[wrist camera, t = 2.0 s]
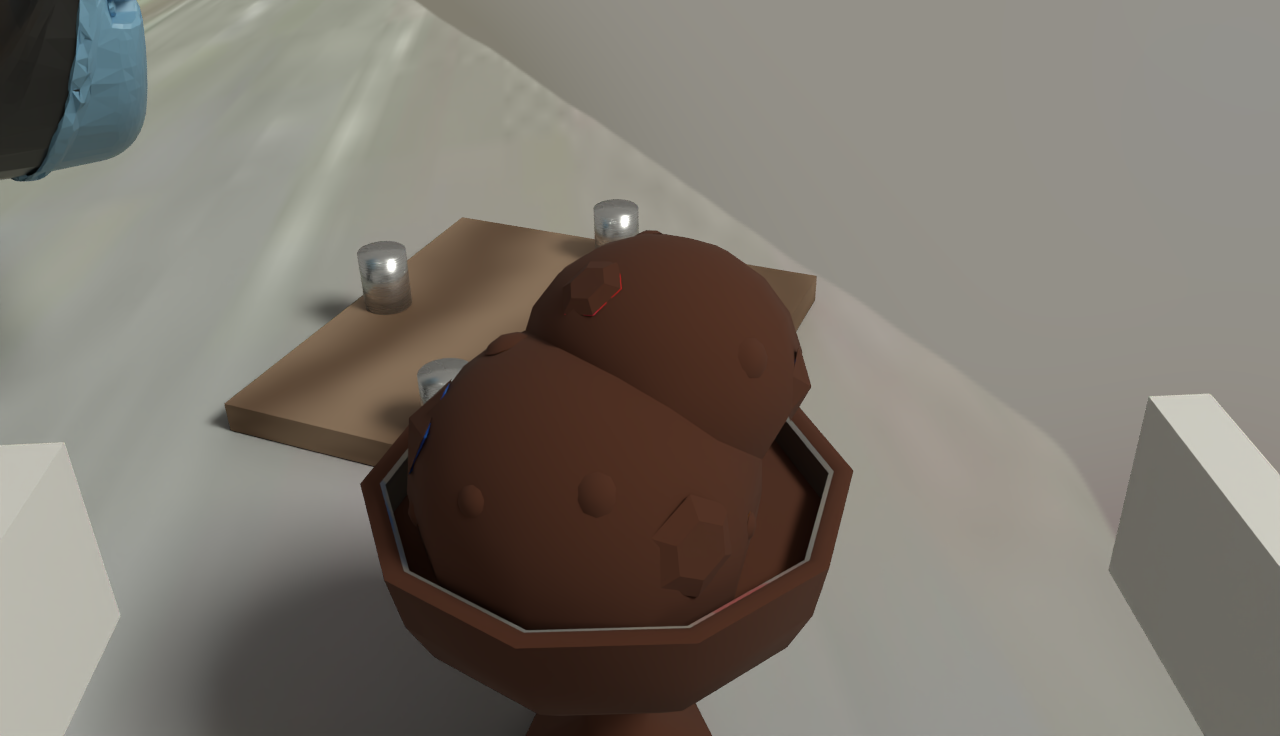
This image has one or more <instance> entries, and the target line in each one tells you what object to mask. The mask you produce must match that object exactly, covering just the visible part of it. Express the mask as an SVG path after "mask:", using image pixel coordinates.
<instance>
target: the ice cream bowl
mask: <svg viewBox="0 0 1280 736" xmlns="http://www.w3.org/2000/svg"><path fill="white" fill-rule="evenodd" d="M451 380H452V379H451ZM451 380H450V381H449V382H447V383H446V384H445V385H444V386H443V387H442V388H441V389H440V390H439V391H438V392H437V393H435V394H434V395H433V396H432V397H431V398H430V399H429V400H428V401H427V402H426V403H425V404H423V405H422V406H421V407H420V408H419V409H418V410H417V411H416V412H415V413H414V414H413V415H411V416H410V417H409V425H408V426H407V427H406V429H405V430H404V431H403V432H402V434H401V435H400V436H399V437H398V438H397V440H396V441H395V442H394V443H393V445H392V446H391V447H390V448H389V449H388V451H387V452H386V453H385V454H384V456H383V457H382V458H381V459H380V460H379V462H378V463H377V464H376V465H375V467H374V468H373V469H372V470H371V471H370V473H369V474H368V475H367V476H366V477H365V479H364V480H363V481H362V482H361V484H360V485H361V489H362V493H363V497H364V501H365V505H366V509H367V513H368V517H369V521H370V525H371V529H372V533H373V537H374V541H375V545H376V549H377V553H378V557H379V561H380V565H381V569H382V573H383V577H384V581H385V583H386V585H387V587H388V590H389V592H390V594H391V596H392V598H393V601H394V603H395V605H396V607H397V610H398V612H399V614H400V616H401V619H402V621H403V623H404V625H405V627H406V628H407V629H408V630H409V631H410V632H411V633H412V634H413V636H414V637H415V638H416V639H417V640H418V641H419V642H420V643H421V644H422V645H423V646H424V647H425V648H426V649H427V650H428V651H429V652H430V653H431V654H432V655H433V656H434V657H435V658H437V659H439V660H440V661H442V662H444V663H446V664H448V665H450V666H451V667H453V668H455V669H457V670H459V671H461V672H462V673H464V674H466V675H468V676H470V677H471V678H473V679H475V680H477V681H479V682H481V683H482V684H484V685H486V686H488V687H490V688H491V689H493V690H495V691H497V692H499V693H501V694H502V695H504V696H506V697H508V698H510V699H511V700H513V701H515V702H517V703H519V704H521V705H522V706H524V707H526V708H528V709H530V710H531V711H533V712H535V713H536V715H535V717H534V719H533V721H532V723H531V726H530V728H529V730H528V732H527V734H526V736H712V735H711V733H710V731H709V729H708V727H707V725H706V723H705V721H704V719H703V717H702V715H701V713H700V711H699V709H698V707H697V705H696V702H698V701H699V700H701V699H703V698H704V697H706V696H708V695H709V694H711V693H713V692H714V691H716V690H717V689H719V688H721V687H722V686H724V685H726V684H727V683H729V682H731V681H732V680H734V679H736V678H737V677H739V676H740V675H742V674H744V673H745V672H747V671H749V670H750V669H752V668H754V667H755V666H757V665H759V664H760V663H762V662H763V661H765V660H767V659H768V658H770V657H772V656H773V655H775V654H777V653H778V652H780V651H782V650H783V649H785V648H786V647H788V645H789V644H790V643H791V642H792V640H793V639H794V638H795V637H796V635H797V634H798V633H799V632H800V630H801V629H802V628H803V627H804V626H805V624H806V623H807V622H808V621H809V619H810V618H811V617H812V616H813V613H814V610H815V607H816V604H817V601H818V598H819V596H820V593H821V590H822V587H823V584H824V581H825V578H826V575H827V573H828V570H829V566H830V562H831V558H832V554H833V550H834V546H835V542H836V538H837V534H838V530H839V526H840V522H841V518H842V514H843V510H844V506H845V502H846V498H847V494H848V490H849V486H850V482H851V478H852V474H853V470H852V469H851V467H850V466H849V465H848V464H847V463H846V462H845V460H844V459H843V458H842V457H841V456H840V454H839V453H838V452H837V451H836V450H835V449H834V447H833V446H832V445H831V444H830V443H829V442H828V440H827V439H826V438H825V437H824V436H823V434H822V433H821V432H820V431H819V430H818V429H817V427H816V426H815V425H814V424H813V423H812V421H811V420H810V419H809V418H808V417H807V416H806V414H805V413H804V412H803V411H802V410H801V409H800V407H799V406H800V404H801V403H802V401H803V400H804V398H805V396H806V395H807V393H808V391H809V390H810V388H811V384H810V380H809V377H808V373H807V370H806V366H805V363H804V359H803V356H802V350H801V346H800V343H799V340H798V337H797V334H796V330H795V327H794V324H793V321H792V317H791V314H790V312H789V310H788V309H787V308H786V306H785V305H784V303H783V302H782V301H781V299H780V298H779V297H778V295H777V294H776V293H775V291H774V290H773V288H772V287H771V286H770V284H769V283H768V282H767V280H766V279H765V278H764V277H763V276H762V275H760V274H759V273H757V272H756V271H755V270H753V269H752V268H750V267H749V266H748V265H746V264H745V263H743V262H742V261H741V260H739V259H738V258H736V257H735V256H734V255H732V254H731V253H729V252H728V251H726V250H724V249H722V248H720V247H718V246H716V245H713V244H709V243H705V242H702V241H698V240H694V239H690V238H685V237H679V236H673V235H667V234H662V233H660V232H658V231H648V230H646V231H643V232H641V233H639V234H637V235H635V236H633V237H629V238H625V239H621V240H617V241H613V242H609V243H607V244H605V245H603V246H600V247H598V248H596V249H595V250H593V251H591V252H590V253H588V254H586V255H584V256H582V257H581V258H579V259H578V260H576V261H574V262H573V263H571V264H569V265H568V266H566V267H564V269H563V270H562V271H561V272H560V273H558V275H557V276H556V277H555V279H554V280H553V281H552V282H551V284H550V285H549V286H548V288H547V289H546V290H545V291H544V293H543V294H542V295H541V297H540V298H539V299H538V300H537V302H536V303H535V304H534V306H533V307H532V310H531V314H530V317H529V320H528V323H527V327H526V330H525V331H523V332H513V333H508V334H503V335H501V336H499V337H498V338H497V339H495V340H494V341H493V342H491V343H490V344H489V345H488V347H487V349H486V350H484V351H483V352H482V353H480V354H479V355H478V356H476V357H475V358H474V359H472V360H471V361H470V362H468V363H467V364H466V365H464V366H463V367H462V369H461V370H460V371H459V373H458V374H457V375H456V377H455V378H454V379H453V381H452V382H451Z"/></svg>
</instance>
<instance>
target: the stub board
mask: <svg viewBox="0 0 1280 736" xmlns="http://www.w3.org/2000/svg"><path fill="white" fill-rule="evenodd" d="M594 231H595V239H590V238H584V237H578V236H572V235H566V234H559V233H553V232H547V231H541V230H535V229H529V228H523V227H517V226H511V225H505V224H499V223H493V222H487V221H481V220H475V219H469V218H463V217H462V218H461V219H460V220H458V221H457V222H456V223H455V224H453V225H452V226H451V227H449V228H448V229H447V230H446V231H444V232H443V233H442V234H441V235H439V236H438V237H437V238H435V239H434V240H433V241H432V242H430V243H429V244H428V245H426V246H425V247H424V248H423V249H421V250H420V251H419V252H418V253H416V254H415V255H414V256H412V257H411V258H410V259H409V260H407V257H406V250H405V247H404V246H403V245H402V244H400V243H397V242H392V241H380V242H374V243H370V244H368V245H365V246H363V247H362V248H360V249H359V250H358V252H357V256H358V263H359V269H360V276H361V282H362V288H363V296H361V297H360V298H359V299H357V300H356V301H355V302H354V303H352V304H351V305H350V306H349V307H347V308H346V309H345V310H343V311H342V312H341V313H340V314H338V315H337V316H336V317H335V318H333V319H332V320H331V321H329V322H328V323H327V324H326V325H324V326H323V327H322V328H320V329H319V330H318V331H317V332H315V333H314V334H313V335H312V336H310V337H309V338H308V339H306V340H305V341H304V342H303V343H301V344H300V345H299V346H297V347H296V348H295V349H294V350H292V351H291V352H290V353H289V354H287V355H286V356H285V357H283V358H282V359H281V360H280V361H278V362H277V363H276V364H274V365H273V366H272V367H271V368H269V369H268V370H267V371H266V372H264V373H263V374H262V375H260V376H259V377H258V378H257V379H255V380H254V381H253V382H251V383H250V384H249V385H248V386H246V387H245V388H244V389H243V390H241V391H240V392H239V393H237V394H236V395H235V396H234V397H232V398H231V399H230V400H228V401H227V402H226V403H225V408H226V413H227V417H228V421H229V425H230V430H233V431H236V432H240V433H244V434H248V435H252V436H256V437H260V438H264V439H268V440H272V441H276V442H280V443H284V444H288V445H292V446H296V447H300V448H304V449H308V450H312V451H316V452H320V453H324V454H328V455H332V456H336V457H340V458H344V459H348V460H352V461H356V462H360V463H364V464H368V465H372V466H375V465H376V464H377V463H378V462H379V460H380V459H381V458H382V457H383V456H384V454H385V453H386V452H387V451H388V449H389V448H390V447H391V446H392V445H393V443H394V442H395V441H396V440H397V438H398V437H399V436H400V435H401V434H402V432H403V431H404V430H405V429H406V427H407V426H408V425H409V417H410V416H411V415H413V414H414V413H415V412H416V411H417V410H418V409H419V408H420V407H421V406H422V405H423V404H425V403H426V402H427V401H428V400H429V399H430V398H431V397H432V396H433V395H434V394H435V393H437V392H438V391H439V390H440V389H441V388H442V387H443V386H444V385H445V384H446V383H447V382H449V381H450V380H451V379H452V380H451V382H452V381H453V379H454V378H455V377H456V375H457V374H458V373H459V371H460V370H461V369H462V367H463V366H464V365H466V364H467V363H468V362H470V361H471V360H472V359H474V358H475V357H476V356H478V355H479V354H480V353H482V352H483V351H484V350H486V349H487V347H488V345H489V344H490V343H491V342H493V341H494V340H495V339H497V338H498V337H499V336H501V335H503V334H508V333H513V332H523V331H525V330H526V327H527V323H528V320H529V317H530V314H531V310H532V307H533V306H534V304H535V303H536V302H537V300H538V299H539V298H540V297H541V295H542V294H543V293H544V291H545V290H546V289H547V288H548V286H549V285H550V284H551V282H552V281H553V280H554V279H555V277H556V276H557V275H558V273H560V272H561V271H562V270H563V269H564V267H566V266H568V265H569V264H571V263H573V262H574V261H576V260H578V259H579V258H581V257H582V256H584V255H586V254H588V253H590V252H591V251H593V250H595V249H596V248H598V247H600V246H603V245H605V244H607V243H609V242H613V241H617V240H621V239H625V238H629V237H633V236H635V235H637V234H639V225H638V206H637V205H636V204H635V203H633V202H631V201H628V200H621V199H613V200H606V201H603V202H600V203H598V204H596V205H595V206H594ZM746 265H747V264H746ZM748 266H749V267H750V268H752V269H753V270H755V271H756V272H757V273H759V274H760V275H762V276H763V277H764V278H765V279H766V280H767V282H768V283H769V284H770V286H771V287H772V288H773V290H774V291H775V293H776V294H777V295H778V297H779V298H780V299H781V301H782V302H783V303H784V305H785V306H786V308H787V309H788V310H789V312H790V314H791V317H792V321H793V324H794V327H795V330H796V331H797V329H798V327H799V326H800V324H801V322H802V321H803V319H804V317H805V316H806V314H807V312H808V311H809V309H810V307H811V306H812V304H813V302H814V301H815V292H816V278H817V276H813V275H807V274H801V273H795V272H789V271H783V270H777V269H771V268H765V267H759V266H753V265H748Z"/></svg>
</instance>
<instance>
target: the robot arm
mask: <svg viewBox="0 0 1280 736" xmlns="http://www.w3.org/2000/svg"><path fill="white" fill-rule="evenodd" d="M146 106H147V60H146V45H145V36H144V27H143V19H142V15H141V11H140V7H139V5H138V3H137V1H136V0H0V180H2V179H9V178H11V179H13V180H15V181H34V180H39V179H41V178H44V177H45V176H47V175H48V174H49V173H50V172H51V171H55V170H60V169H64V168H69V167H74V166H79V165H84V164H88V163H93V162H98V161H103V160H107V159H110V158H112V157H115V156H117V155H118V154H120V153H122V152H123V151H125V150H126V149H127V148H128V147H129V146H131V144H132V143H133V142H134V141H135V139H136V138H137V136H138V135H139V133H140V131H141V128H142V126H143V123H144V119H145V114H146ZM1109 572H1110V574H1111V575H1112V577H1113V579H1114V581H1115V582H1116V584H1117V586H1118V587H1119V589H1120V591H1121V593H1122V594H1123V596H1124V598H1125V600H1126V601H1127V603H1128V605H1129V606H1130V608H1131V610H1132V612H1133V613H1134V615H1135V617H1136V619H1137V620H1138V622H1139V624H1140V625H1141V627H1142V629H1143V631H1144V632H1145V634H1146V636H1147V637H1148V639H1149V641H1150V643H1151V644H1152V646H1153V648H1154V650H1155V651H1156V653H1157V655H1158V656H1159V658H1160V660H1161V662H1162V663H1163V665H1164V667H1165V669H1166V670H1167V672H1168V674H1169V675H1170V677H1171V679H1172V681H1173V682H1174V684H1175V686H1176V688H1177V689H1178V691H1179V693H1180V694H1181V696H1182V698H1183V700H1184V701H1185V703H1186V705H1187V707H1188V708H1189V710H1190V712H1191V713H1192V715H1193V717H1194V719H1195V720H1196V722H1197V724H1198V726H1199V727H1200V729H1201V731H1202V732H1203V734H1204V736H1280V475H1279V473H1277V471H1276V470H1275V469H1274V468H1273V466H1272V465H1271V464H1270V463H1269V462H1268V461H1267V459H1266V458H1265V457H1264V456H1263V455H1262V453H1261V452H1260V451H1259V450H1258V449H1257V448H1256V447H1255V445H1254V444H1253V443H1252V442H1251V441H1250V439H1249V438H1248V437H1247V436H1246V435H1245V434H1244V432H1243V431H1242V430H1241V429H1240V428H1239V427H1238V425H1237V424H1236V423H1235V422H1234V421H1233V420H1232V418H1231V417H1230V416H1229V415H1228V414H1227V413H1226V411H1225V410H1224V409H1223V408H1222V407H1221V406H1220V404H1219V403H1218V402H1217V401H1216V400H1215V399H1214V398H1213V396H1212V395H1211V394H1194V395H1172V396H1171V395H1170V396H1149V398H1148V402H1147V406H1146V411H1145V415H1144V419H1143V424H1142V428H1141V433H1140V436H1139V441H1138V445H1137V449H1136V454H1135V458H1134V462H1133V467H1132V471H1131V475H1130V480H1129V484H1128V488H1127V492H1126V497H1125V501H1124V505H1123V510H1122V514H1121V518H1120V523H1119V527H1118V531H1117V536H1116V540H1115V544H1114V548H1113V553H1112V557H1111V561H1110V566H1109ZM119 618H120V612H119V609H118V606H117V603H116V600H115V597H114V594H113V591H112V588H111V585H110V582H109V578H108V575H107V572H106V569H105V566H104V563H103V560H102V557H101V554H100V551H99V548H98V544H97V541H96V538H95V535H94V532H93V529H92V526H91V523H90V520H89V517H88V514H87V511H86V507H85V504H84V501H83V498H82V495H81V492H80V489H79V486H78V483H77V480H76V477H75V473H74V470H73V467H72V464H71V461H70V458H69V455H68V452H67V449H66V446H65V443H64V442H61V443H37V444H14V445H0V736H64V734H65V732H66V730H67V728H68V726H69V724H70V721H71V719H72V717H73V715H74V713H75V711H76V709H77V707H78V705H79V703H80V700H81V698H82V696H83V694H84V692H85V690H86V688H87V686H88V684H89V681H90V679H91V677H92V675H93V673H94V671H95V669H96V667H97V665H98V663H99V660H100V658H101V656H102V654H103V652H104V650H105V648H106V646H107V644H108V641H109V639H110V637H111V635H112V633H113V631H114V629H115V627H116V625H117V623H118V620H119Z"/></svg>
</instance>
